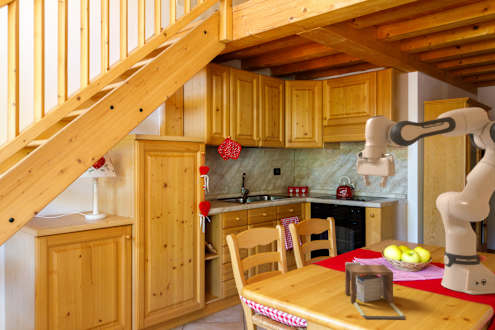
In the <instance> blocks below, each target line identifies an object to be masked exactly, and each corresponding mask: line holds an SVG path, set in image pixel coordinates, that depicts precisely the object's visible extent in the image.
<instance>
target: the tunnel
mask: <svg viewBox="0 0 495 330" xmlns="http://www.w3.org/2000/svg"><path fill="white" fill-rule="evenodd" d="M344 265H345V264H344ZM344 267H345V270H344V271H345V273H344V274H345V275H344V276H345V277H344V282H345V284H344V285H345V286H344V287H345V289H344V290H345V293H344V294H345V296H350V303H351V304H354V303H357V292H356V275H360V276H363V275H377V276H379V277H381V298H383V299H384V300H385V301H386V302H387V303H388V304H389V305H390V303H393V304H394V271H392V270H391V269H390V268H389V267H387V266H386V265H385V264H360V265H345V266H344ZM350 273H351V279H350Z"/></svg>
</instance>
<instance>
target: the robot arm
mask: <svg viewBox="0 0 495 330" xmlns="http://www.w3.org/2000/svg"><path fill="white" fill-rule="evenodd" d="M465 135H468V137H469V139H470V142H471V144H472V145H473V147H475V148H476V149H478V150H483V151H485V153H484V155H483V157H482V158H481V159H480V160H479V162H478V163H477V164H476V165H474V167H473V168H472V170H471V171H470V172H469V173H468V174H467V175H466V185H465V187H464V189H463V190H462V191H461V192H460V191H446V192H445V191H444V192H443V193H441V194H439V195H437V196H438V197H437V198H436V200H435V206H436V208H437V211H439V213H440V216H441V219H442V223H443V227H444V233H445V251H444V253H443V254H444V256H443V262H444V271H443V276H442V280H441V283H440V284H441V286H443V288H447V289H449V290H452V291H455V292H461V293H465V294H469V295H485V294H495V273H494V272H493V271H492V270H490V269H489V268H488V267H487V266H485V265H484V264H483V263H482V262H486V261H487V257H486V256H484V255H479V254H478V253H477V233H476V232H475V231H474V230H473V227H472V225H471V223H470V222H473V223H474V222H481V221H483V220H485V219H487V217H488V216H489V214H490V211H491V209H490V208H491V207H490V204H489V202H490V199H491V198H492V195H493V193H494V191H495V120H494V121H492V120H490V119H489V117H488V113H487V111H486V110H485V109H483V108H482V107H464V108H458V109H453V110H450V111H446V112H443V113H442V114H440V115H438V117H437V118H435V119H431V120H426V121H421V122H415V121H410V120H402V121H399V122H396V121H393V120H391V119H389V118H388V117H387V116H386V115H384V114H382V115H375V116H372V117H369V118H368V119H367V120H366V123H365V131H364V139H365V145H364V149H363V150H361V151H360V152H358V153H356V158H357V160H356V172H357V175H360V176H362V178H363V181H364V185H365V186H366V187H370V186H371V181H370V179H369V178H370V176H372V177H373V176H374V177H375V176H376V177H381V179H382V180H381V182H380V183H379V187H380V188H386V185H387V184H386V183H387V182H388V180H389V178H390V177H393V178H394V177H395V176H396V163H395V158H394V155H392V153H388V152H387V151H388V146H390V147H409V146H412V145H413V144H415V143H417V142H418V141H419V140H421V139H425V138H428V137H429V138H430V137H434V136H442V137H444V138H445V137H446V138H448V137H449V138H451V137H460V136H465ZM481 261H482V262H481Z"/></svg>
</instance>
